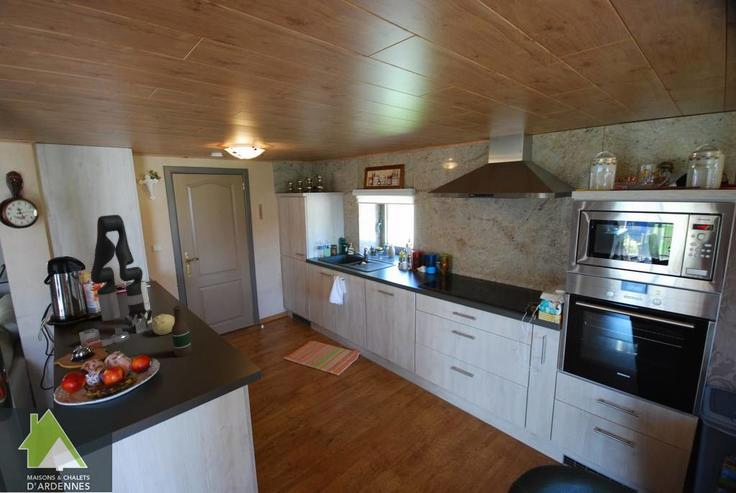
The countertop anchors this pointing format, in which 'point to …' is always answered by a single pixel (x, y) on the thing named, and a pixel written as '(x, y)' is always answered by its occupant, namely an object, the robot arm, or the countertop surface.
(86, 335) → the socket
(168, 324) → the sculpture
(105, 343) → the wine glass
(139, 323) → the socket
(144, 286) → the cylindrical container
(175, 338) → the beer bottle
